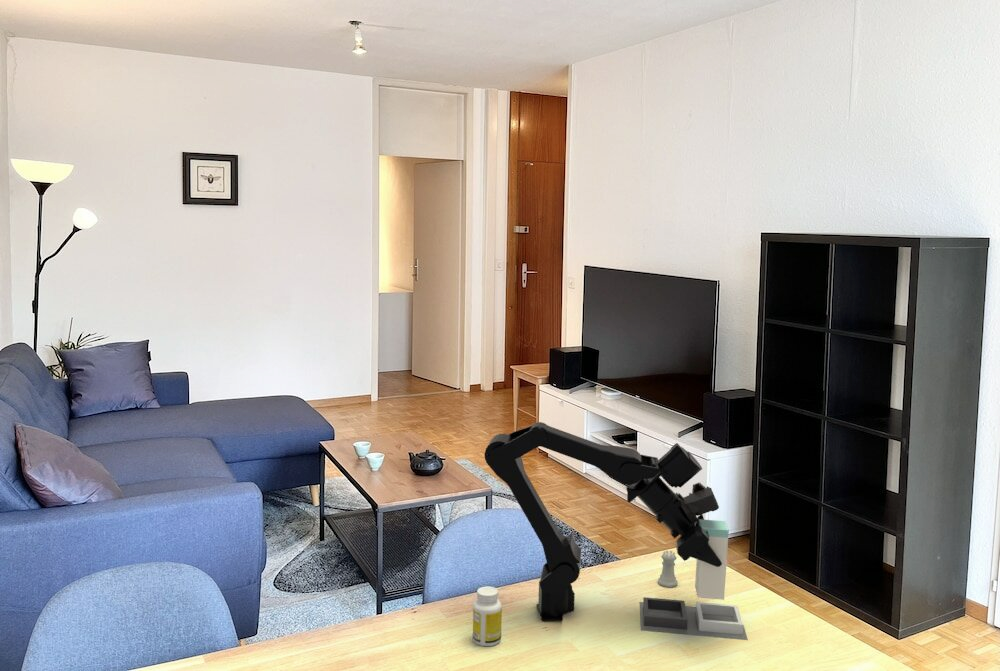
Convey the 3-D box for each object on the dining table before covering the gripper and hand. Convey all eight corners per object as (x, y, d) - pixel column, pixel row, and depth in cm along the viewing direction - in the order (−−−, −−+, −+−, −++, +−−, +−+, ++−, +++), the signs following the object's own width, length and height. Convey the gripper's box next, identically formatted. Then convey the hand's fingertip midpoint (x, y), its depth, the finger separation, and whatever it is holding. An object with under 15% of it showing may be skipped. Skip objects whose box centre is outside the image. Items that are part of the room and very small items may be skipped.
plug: (697, 597, 159) (701, 528, 157) (695, 586, 164) (699, 519, 162) (724, 599, 159) (728, 530, 157) (720, 588, 164) (725, 521, 162)
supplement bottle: (505, 635, 157) (506, 587, 156) (495, 649, 152) (496, 599, 151) (478, 630, 159) (479, 582, 158) (468, 644, 154) (469, 594, 152)
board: (640, 635, 158) (641, 620, 158) (639, 606, 170) (639, 592, 170) (747, 644, 156) (748, 629, 155) (738, 615, 167) (739, 601, 167)
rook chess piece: (679, 592, 177) (681, 557, 176) (658, 592, 177) (660, 556, 176) (675, 583, 181) (677, 549, 180) (655, 583, 181) (657, 548, 180)
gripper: (699, 491, 150) (758, 552, 150) (689, 461, 168) (742, 516, 168) (653, 529, 152) (712, 590, 152) (649, 496, 170) (701, 550, 170)
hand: (718, 559), depth 160 cm, fingers closed on plug, 5 cm apart
